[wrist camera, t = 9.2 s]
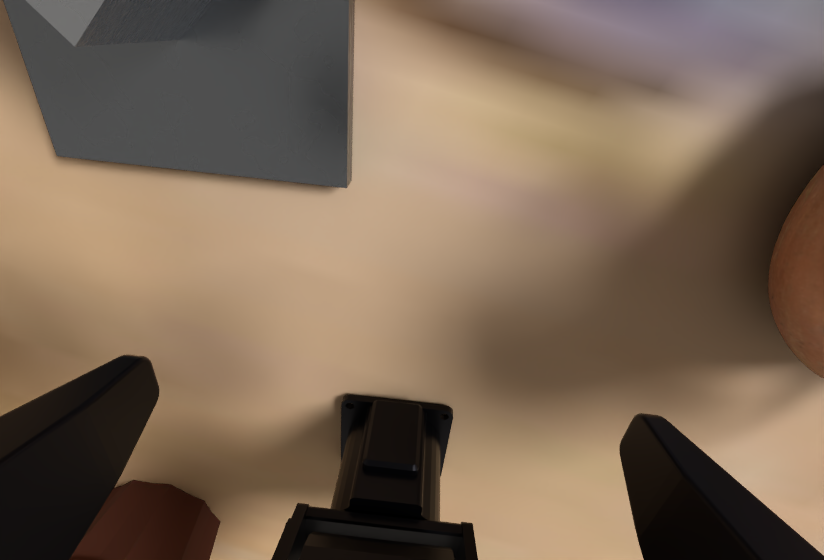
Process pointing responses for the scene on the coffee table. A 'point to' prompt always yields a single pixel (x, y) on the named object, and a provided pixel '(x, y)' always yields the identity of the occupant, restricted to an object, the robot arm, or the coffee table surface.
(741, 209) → the coffee table surface
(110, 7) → the collar
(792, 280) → the ceramic jug
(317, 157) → the flange plate
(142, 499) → the muffin
